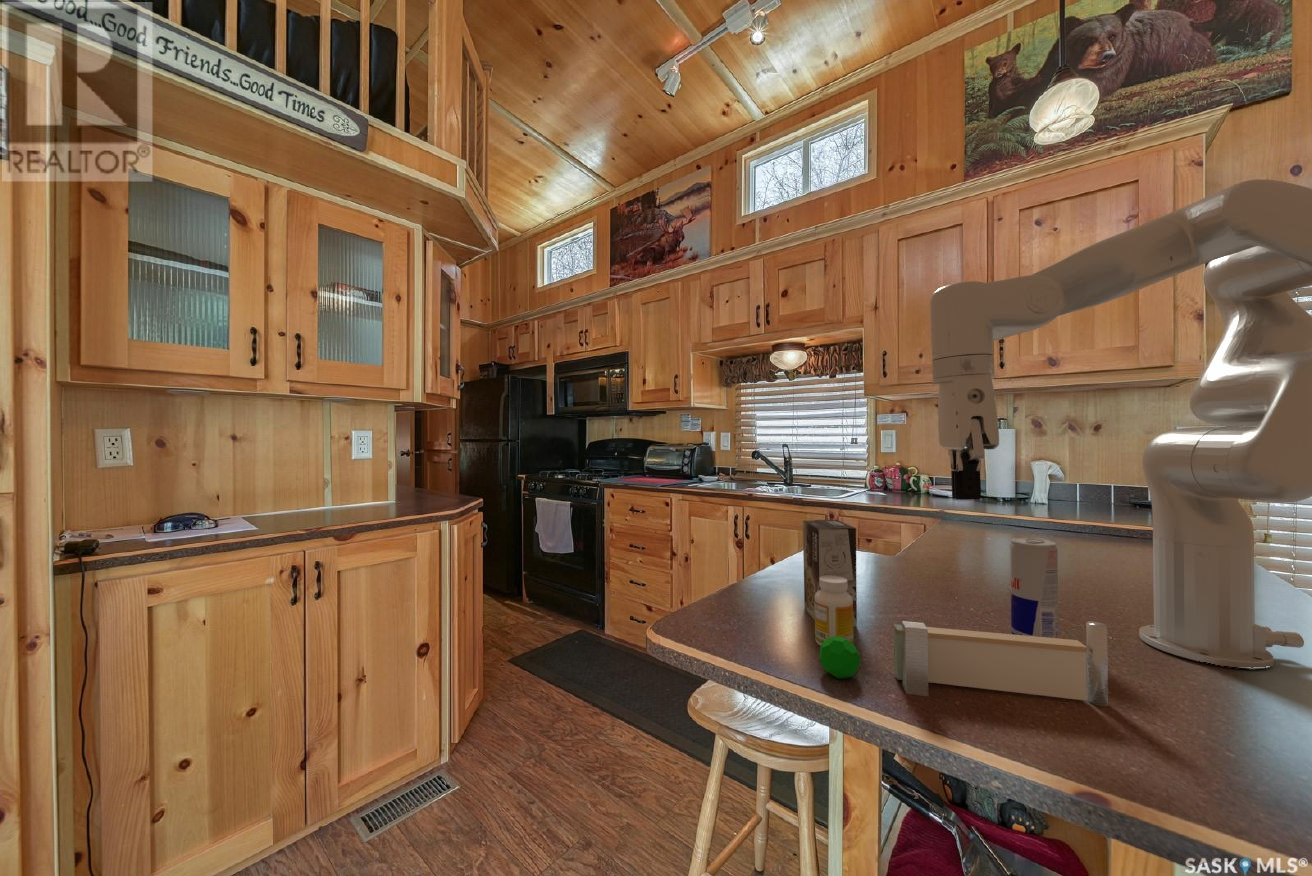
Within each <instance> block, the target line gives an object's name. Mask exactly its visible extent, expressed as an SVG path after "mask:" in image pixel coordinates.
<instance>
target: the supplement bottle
mask: <svg viewBox="0 0 1312 876" xmlns="http://www.w3.org/2000/svg"><path fill="white" fill-rule="evenodd" d="M819 587H820V588H821V590H819V591H817V592H816V594H815V620H814V639H815V642H816V644H817V645H818V646H820V647H821V644H822V643H823V642H824V641H825V640H826V639H828V638H831V637H838V636H840V637H842V638H844V639H846V640H848V641H850V642H851V643H853V644H854V627H853V600H852V597H851V596H850V595H849V594H848V593H847V592H846V591H847V588H848V583H847V579H846V578H843V577H840V576H833V575H826V576H821V577H820V578H819Z"/></svg>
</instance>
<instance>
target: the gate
mask: <svg viewBox="0 0 1312 876" xmlns="http://www.w3.org/2000/svg"><path fill="white" fill-rule="evenodd" d="M926 627H927V629H928V683H933V684H941V685H951V686H959V687H966V688H967V687H968V688H976V689H983V690H994V691H1001V692H1009V693H1018V694H1019V693H1020V694H1027V695H1035V696H1037V695H1038V696H1045V697H1053V698H1062V699H1069V700H1070V699H1071V700H1079V701H1086V702H1088V700H1087V647H1086V645H1085V644H1084V643H1082V642H1081V641H1080V640H1077V639H1067V638H1059V637H1058V638H1047V637H1036V636H1024V635H1013V634H1012V633H1010V634H1009V633H1000V632H999V633H998V632H991V631H990V632H987V631H977V630H967V629H966V630H965V629H953V628H943V627H934V626H933V627H932V626H926ZM893 672H894V675H895V677H896V679H897V680H901V681H903V671H902V624H897V623H894V624H893Z"/></svg>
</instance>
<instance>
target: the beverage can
mask: <svg viewBox="0 0 1312 876" xmlns="http://www.w3.org/2000/svg"><path fill="white" fill-rule="evenodd" d="M1010 540H1011V541H1010V544H1009V548H1010V551H1009V555H1010V557H1009V558H1010V561H1009V562H1010V625H1011V626H1010V629H1011V630H1010V632H1011V633H1010V634H1013V635H1024V636H1036V637H1047V638H1058V639H1059V581H1058V580H1059V579H1058V578H1059V572H1058V569H1059V566H1058V560H1059V558H1058V556H1059V555H1058V548H1057V543H1056V542H1055V541H1052V540H1047V539H1040V538H1034V537H1013V538H1012V539H1010Z"/></svg>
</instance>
